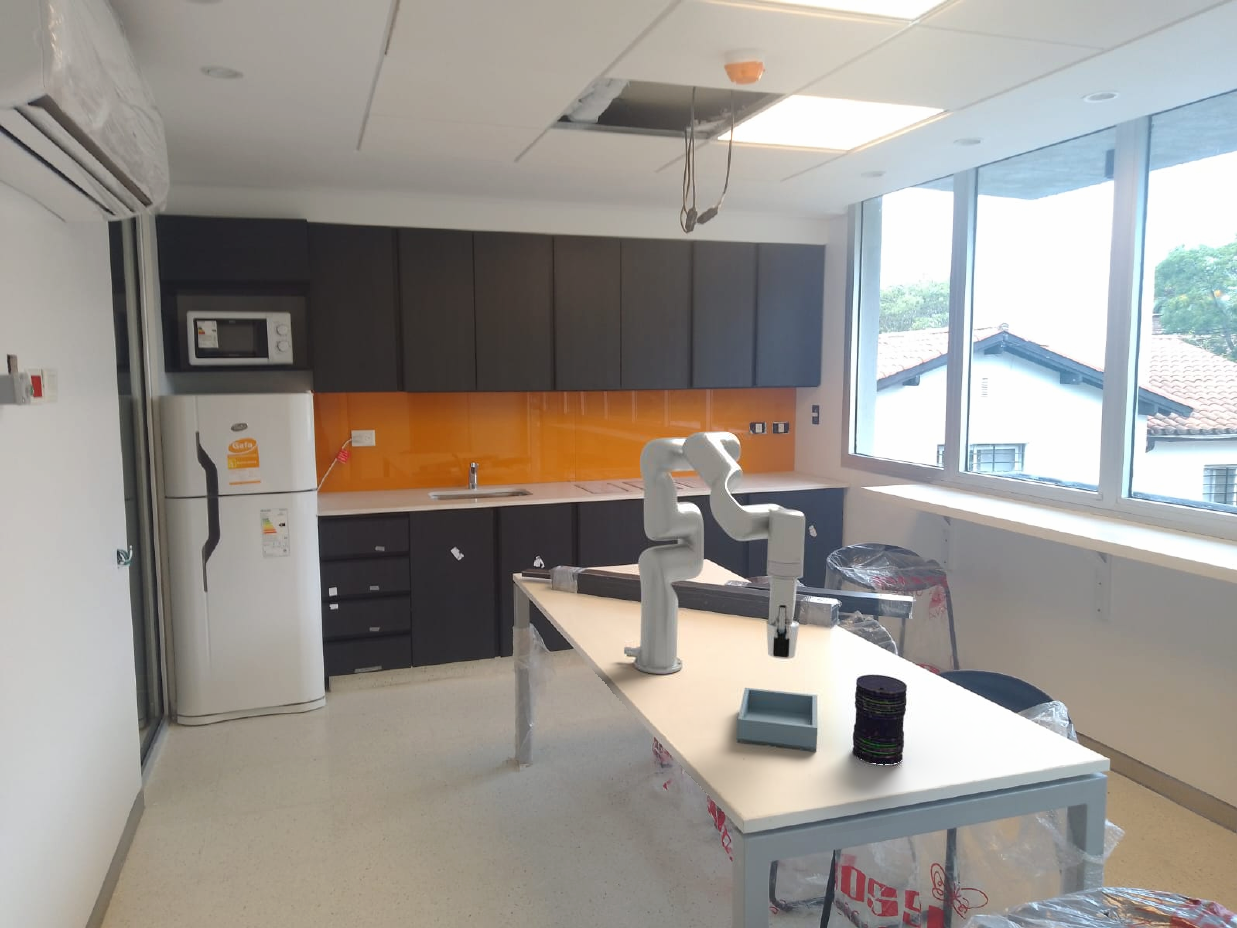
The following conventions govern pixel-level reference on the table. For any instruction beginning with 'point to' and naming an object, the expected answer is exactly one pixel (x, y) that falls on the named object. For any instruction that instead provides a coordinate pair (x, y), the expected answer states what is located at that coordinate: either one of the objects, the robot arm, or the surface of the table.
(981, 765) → the table surface
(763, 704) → the open box
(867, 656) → the table surface
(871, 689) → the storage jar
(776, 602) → the robot arm
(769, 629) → the white cup
